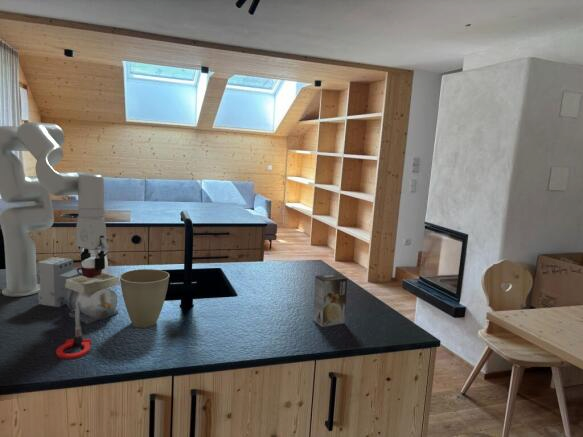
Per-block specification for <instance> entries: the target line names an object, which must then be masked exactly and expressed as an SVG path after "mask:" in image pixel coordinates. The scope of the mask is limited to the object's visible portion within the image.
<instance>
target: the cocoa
mask: <svg viewBox="0 0 583 437" xmlns="http://www.w3.org/2000/svg"><path fill="white" fill-rule="evenodd" d="M108 240H109V239H108V238H107V242H108ZM81 265H82V266H81ZM80 266H81V267H78V268H77V269H76V270H77V272H78V273H79V271H78V270H81V271H82V273H83V275H82V274H81V273H79V274H80V275H82V276H85V277H87V278H95V277H98V276H99V275H100V274H101V272H102V269H101V270H95V258H94V257H90V258H88V259H85V260H84V261H82V262H81V261H80Z"/></svg>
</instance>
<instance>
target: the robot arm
mask: <svg viewBox="0 0 583 437" xmlns="http://www.w3.org/2000/svg"><path fill="white" fill-rule="evenodd" d="M65 140H66V136H65V132H64V131H63V129H62V127H60V126H59V125H57V124H55V123H48V122H47V123H46V122H34V121H31V122H30V121H29V122H24V123H22V124H20V125H19V126H15V125H14V126H12V125H11V126H10V125H0V198H1V200H2V201H3V202H4V203H6V204H7V203H8V204H21V203H31V205H21V206H14V207H13V206H12V207H8V208H6V209H5V210H3V211H2V212H1V213H0V227H1V231H2V236H3V243H4V258H5V259H4V260H5V276H6V279H5V282H6V287H4V288H2V290H1V293H2V295H3V296H6V297H13V298H15V297H17V298H18V297H26V296H30V295H35V294H37V293H38V291H40V283H38V278H37V275H38V274H37V253H36V252H37V251H36V243H35V241H34V239H33V238H32V237H31V236H30V235H29V233H31V232H38V231H43V230H48V229H49V228H51V227H52V226H53V225H54V222H55V214H54V209H53V204H52V198H51V195H53V196H55V197H67V196H77V204H78V205H77V208H78V213H77V214H78V216H77V220H76V228H75V229H76V232H75V243H76V246H77V247H78V249H79V254H80V263H81V262H82V261H84V260H85V259H88V258H90V257H91V253H90V252H89V251H90V250H94V252H95V255H96V258H95V270H101V269H104V268H105V257H106V256H107V254H108V251H109V250H110V246H109V244H108V241H107V239H108V238H107V236H108V235H107V225H106V219H105V183H104V177H103V175H101V174H96V173H89V172H86V171H56V170H55V169H54V168H53V167H54V166H56V165H58V164H59V163H60V162H61V161H62V160H63V157H64V150H63V148H62V146H63V145H64V143H65ZM13 151H15V152H29V154H31V155H32V157H33V158H34V159H35V160H36V163H35V174H36V175H30V176H29V175H28V176H26V175H25V171H24V165H23V163H22V161H21V159H19V157H18V156H17V155H16V154H14V152H13ZM98 247H100V248H98ZM98 250H101V251H100V253H99V252H98ZM80 266H82V265H81V264H80Z"/></svg>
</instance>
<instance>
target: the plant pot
mask: <svg viewBox="0 0 583 437" xmlns="http://www.w3.org/2000/svg"><path fill="white" fill-rule="evenodd" d="M169 280H170V273H169V272H167V271H164V270H160V269H153V268H144V269H143V268H142V269H141V268H139V269H131V270H128V271H125V272H123V273H121V274H120V275H119V281H120V289H121V292H122V298H123V302H124V305H125V309H126V312H127V314H128V317H129V320H130V322H131V324H132V326H133V327H135V328H142V329H144V328H150V327H153V326H155V325H156V324H157V322H158V320H159V317H160V315H161V312H162V309H163V307H164V306H163V305H164V303H165V300H166V295H167V292H168V286H169V282H170V281H169Z"/></svg>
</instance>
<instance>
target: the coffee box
mask: <svg viewBox="0 0 583 437" xmlns="http://www.w3.org/2000/svg"><path fill="white" fill-rule="evenodd" d="M347 289H348V278H347V277H346V276H343V275H341V274H339V273H329V274H321V275H320V274H319V275H315V279H314V296H313V297H314V300H313V317H312V321H313V322H315V324H317V325H319V326H320V327H322V328H324V327H325V328H326V327H330V326H336V325H343V324H345V323H346V319H345V318H346V308H347V307H346V306H347V292H348V290H347Z"/></svg>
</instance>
